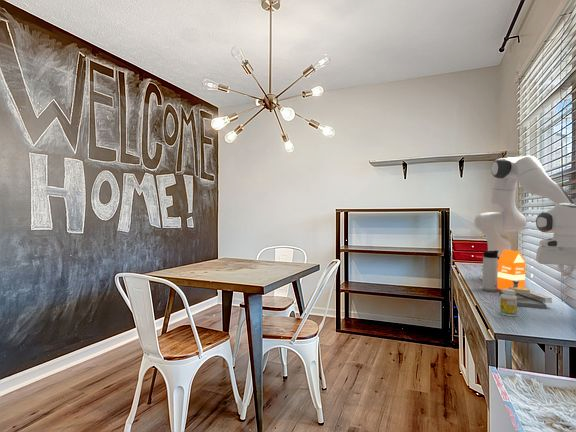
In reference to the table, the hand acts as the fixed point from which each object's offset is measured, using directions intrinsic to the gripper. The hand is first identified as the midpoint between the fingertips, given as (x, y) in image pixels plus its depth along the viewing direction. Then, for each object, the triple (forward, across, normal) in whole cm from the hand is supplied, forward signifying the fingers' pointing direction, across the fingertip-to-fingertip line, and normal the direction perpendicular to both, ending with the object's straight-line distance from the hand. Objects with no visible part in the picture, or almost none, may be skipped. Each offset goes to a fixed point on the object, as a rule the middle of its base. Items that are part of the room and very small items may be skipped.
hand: (566, 276), depth 138 cm
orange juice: (+13, +13, -28) cm, 34 cm away
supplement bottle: (+14, +24, +18) cm, 33 cm away
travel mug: (+13, +23, -24) cm, 35 cm away
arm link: (+12, +11, -8) cm, 18 cm away
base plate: (+13, +14, -8) cm, 21 cm away
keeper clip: (+12, +15, -5) cm, 20 cm away
